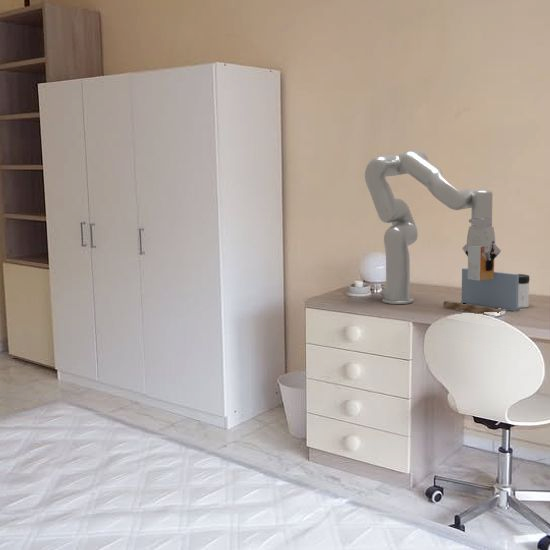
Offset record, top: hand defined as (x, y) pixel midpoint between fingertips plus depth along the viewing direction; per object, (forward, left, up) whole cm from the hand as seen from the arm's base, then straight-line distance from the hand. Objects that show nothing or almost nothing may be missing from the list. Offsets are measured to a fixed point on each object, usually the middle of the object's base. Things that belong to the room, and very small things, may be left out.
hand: (480, 269), depth 273 cm
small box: (0, 0, -4) cm, 4 cm away
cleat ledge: (0, -6, -16) cm, 17 cm away
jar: (+7, +15, -16) cm, 23 cm away
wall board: (0, +6, -16) cm, 17 cm away
